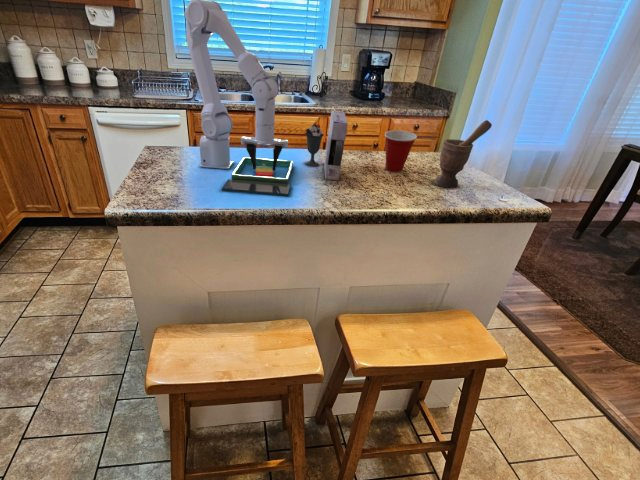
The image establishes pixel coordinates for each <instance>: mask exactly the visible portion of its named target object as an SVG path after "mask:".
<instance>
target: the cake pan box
mask: <svg viewBox="0 0 640 480" xmlns="http://www.w3.org/2000/svg"><path fill="white" fill-rule="evenodd" d="M330 112H331V113H330V119H329V126H328V132H327V140H326V147H325V155H324V162H323V163H324V177H325V178H324V179H325V180H326V181H328V180H329V181H339V180H340V174H341V168H342V160H343V156H344V155H343V154H344V147H345V141H346V140H347V132H348V125H349V123H348V120H347V116H346V113H345V111H342V110H334V109H332V110H331V111H330Z"/></svg>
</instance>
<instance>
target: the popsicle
mask: <svg viewBox="0 0 640 480" xmlns="http://www.w3.org/2000/svg"><path fill="white" fill-rule="evenodd" d="M255 176H262V177H274V171H273V166H266V165H265V164H262V165H258V166H257V165H256V169H255Z"/></svg>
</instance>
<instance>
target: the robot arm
mask: <svg viewBox="0 0 640 480" xmlns="http://www.w3.org/2000/svg"><path fill="white" fill-rule="evenodd" d="M183 13H184V17H185V21H186V32H185V39H186V44H187V47H188V51H189V56H190V59H191V62H192V67H193V70H194V73H195V74H194V75H195V78H196V82H197V86H198V89H199V93H200V96H201V101H202V103H203V107H202V110H201V112H200V117H201V118H200V119H201V125H200V126H201V131H202V133H203V134H204V136H201V137H200V139H199V156H200V157H199V158H200V166H199V167H200V168H209V169H221V170H229V169H230V168H231V167H232V165H233V164H234V161H233V160H231V154H230V153H231V151H230V150H231V149H230V148H231V147H230V146H231V145H230V133H231V132H232V130H233V127H234V124H233V119H232V117H231V116H230V115H229V113H228V109H227V107H226V106H225V105H224V103H222V102H221V100H222V99H221V97H220V93H219V88H218V85H217V84H218V83H217V80H216V76H215V72H214V68H213V64H212V60H211V56H210V52H209V48H208V43H209V40H210V38H211V37H212V35H214V34H216V35H218V36H219V37H220V38H221V40H222V41H223V42H224V44H225V45H226V46H227V47H228V49H229V50H230V52H231V53H232V55H234V57H235V58H236V59H237V68H238V70H239V71H240V73H241V74H242V75H243V77H244V79H245V81H247V83H248V85H249V86H250V88H251V95H252V97H253V99H254V102H255V128H254V129H255V132H254V133H255V136H241V137H240V145H242V146H245V145H246V147H245V148H246V152H247V153H248V156H249V158H251V161H252V164H251V165H252V170H256V166H257V164H256V158H257V146H261V147H273V149H272V153H273V155H272V156H273V166H272V168H273V172H275V171H276V169H277V166H276V164H277V160H279V157H280V155H281V153H282V150H283V149H288V148H289V140H288V139H281V138H275V117H276V116H275V115H276V114H275V112H276V97H277V96H278V94H279V84H278V83H277V80H276V79H275V78H274V77H273V76H270V73H269V72H268V71H266V70H265V68H264V66H263V65H262V64H261V62H260V57H259V56H258V54H257V55H256V54H255V53H253V52H249V51H248V50H247V49H246V47H245V45H244V44H243V42H242V41H241V39H240V37H239V35H238V34H237V32H236V30H235V29H234V27H233V25H232V24H231V22H230V20H229V18H228V14H227V13H226V12H225V10H223V8H222V6H221V5H220V3H219V2H217V1H214V0H211V1H210V0H190V1H189V2H188V4H187V6H186V8H185V10H184V12H183Z"/></svg>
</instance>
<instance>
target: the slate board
mask: <svg viewBox="0 0 640 480" xmlns="http://www.w3.org/2000/svg"><path fill="white" fill-rule="evenodd" d="M221 191H222V192H229V193H230V192H231V193H242V194H254V195H267V196H277V197H278V196H279V197H289V193H290V191H291V184H289V183H288V184H277V183H265V182H252V181H240V180H232V179H227V180H226V181H225V183H224V184H223V186H222V187H221Z"/></svg>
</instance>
